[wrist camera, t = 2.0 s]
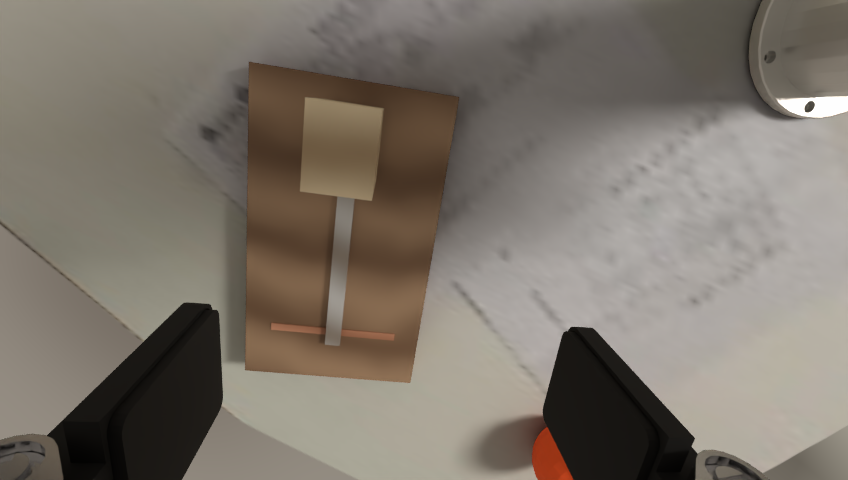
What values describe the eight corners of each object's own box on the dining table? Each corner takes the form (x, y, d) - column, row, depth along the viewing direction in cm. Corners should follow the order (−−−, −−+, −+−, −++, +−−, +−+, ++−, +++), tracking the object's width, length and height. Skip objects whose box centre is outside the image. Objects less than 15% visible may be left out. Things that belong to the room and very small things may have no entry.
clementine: (517, 405, 39) (543, 468, 32) (586, 391, 39) (626, 451, 32) (525, 464, 42) (551, 533, 35) (589, 451, 42) (627, 517, 35)
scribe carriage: (324, 98, 26) (305, 97, 20) (384, 108, 27) (381, 109, 21) (318, 181, 28) (299, 201, 22) (374, 189, 28) (370, 210, 23)
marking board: (258, 64, 27) (246, 61, 25) (454, 97, 29) (460, 96, 27) (253, 355, 35) (243, 373, 33) (409, 368, 37) (410, 386, 34)
